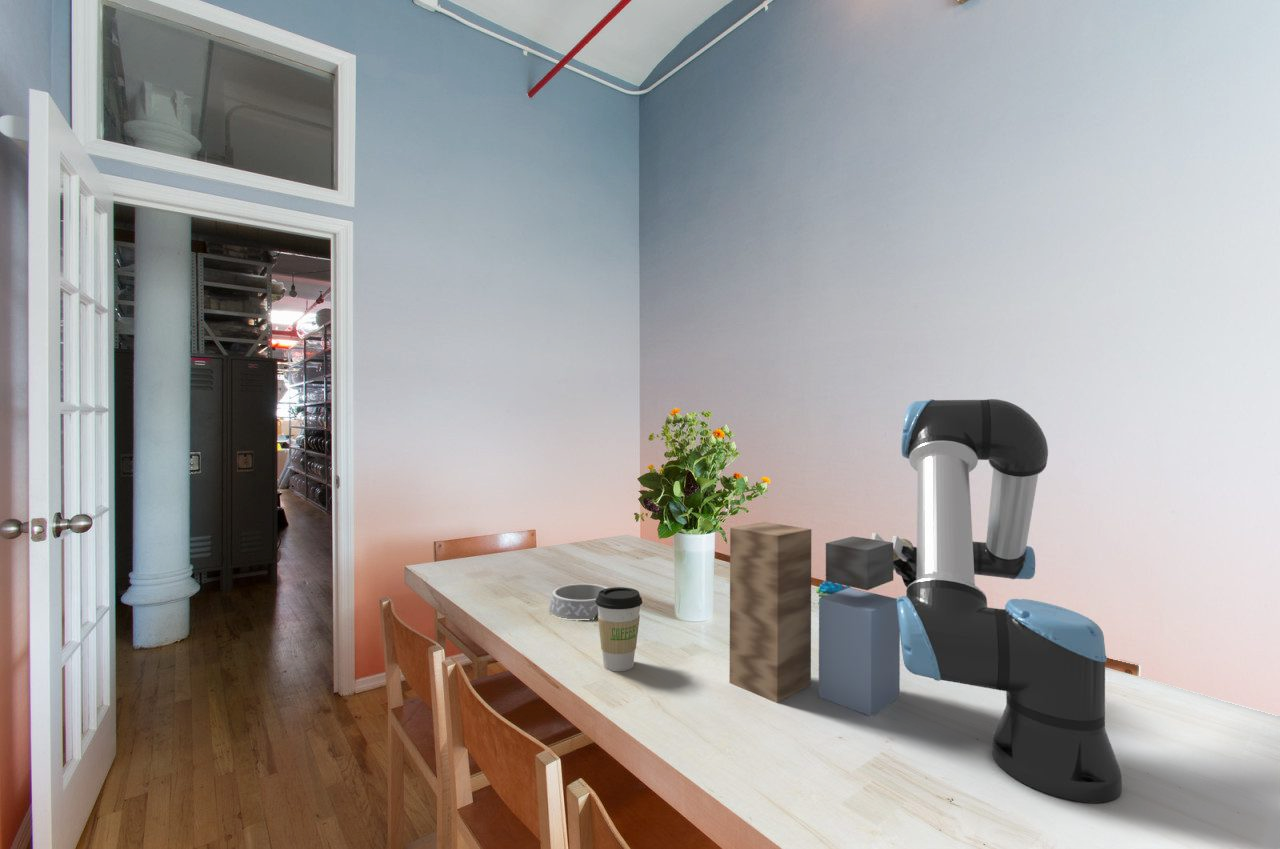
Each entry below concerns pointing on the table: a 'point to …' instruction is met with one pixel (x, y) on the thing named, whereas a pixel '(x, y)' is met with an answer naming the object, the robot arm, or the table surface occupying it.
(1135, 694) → the table surface
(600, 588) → the dog bowl
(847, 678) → the slate stand
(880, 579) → the rubber mallet
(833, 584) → the blue knobbly piece
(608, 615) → the coffee cup
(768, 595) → the walnut pedestal
